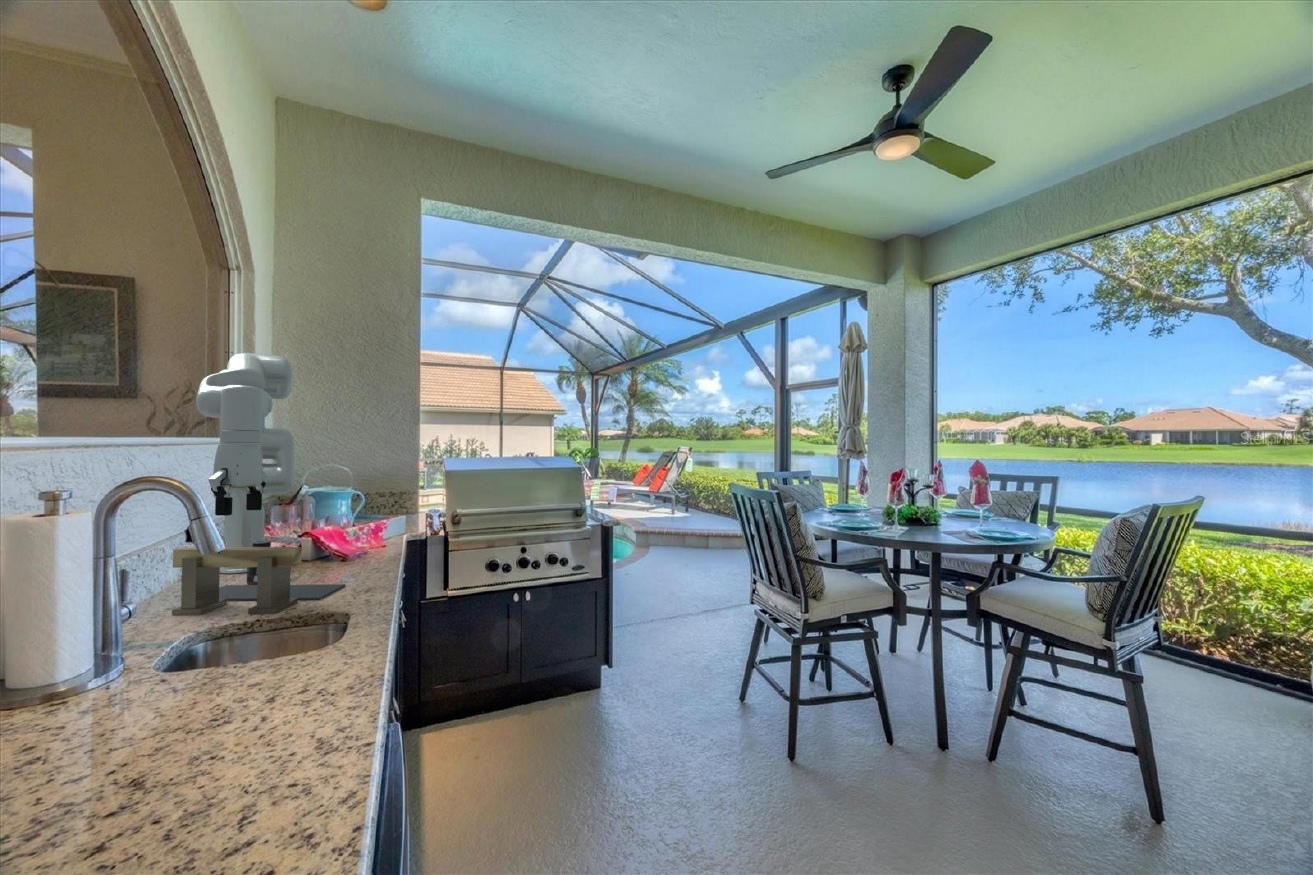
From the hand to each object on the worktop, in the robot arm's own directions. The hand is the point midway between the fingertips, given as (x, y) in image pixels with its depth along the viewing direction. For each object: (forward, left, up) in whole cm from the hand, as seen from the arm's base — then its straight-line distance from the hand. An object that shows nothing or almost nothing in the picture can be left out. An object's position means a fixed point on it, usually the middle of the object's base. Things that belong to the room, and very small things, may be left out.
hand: (239, 512), depth 120 cm
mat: (-12, 0, -22) cm, 26 cm away
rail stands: (0, 0, -22) cm, 22 cm away
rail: (0, 0, -12) cm, 12 cm away
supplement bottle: (-22, -9, -23) cm, 33 cm away
